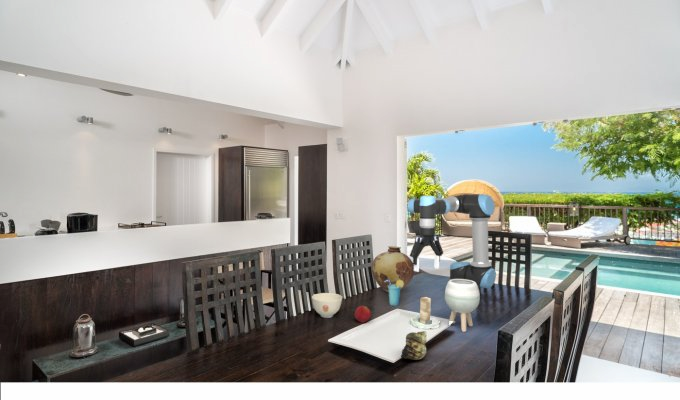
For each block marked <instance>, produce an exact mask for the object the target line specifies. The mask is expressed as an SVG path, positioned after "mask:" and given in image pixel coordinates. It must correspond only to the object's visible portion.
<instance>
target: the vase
mask: <svg viewBox="0 0 680 400" xmlns="http://www.w3.org/2000/svg"><path fill="white" fill-rule="evenodd" d="M387 247H388V249H387V251H384V252H382V253H379V254H378V255H376V256H375V258H373V261H372V262H371V274H372V276H373V278H374V281H375V282H376V283H377V285H378V286H379V287H380V288H381V290H383V291H385V292H386V293H389V290H388V285H389V281H387V282H384V281H386V280H390V283H391V285H396V281H397V280H399V279H400V280H402V281H403V283H404V285H403V287H402V288H401V289H400V291H401V290H404V289H405V288H406V287H407V286H408V285H409V284H410V282H412V280H413V277H414V273H415V271H414V264H413V260H412V259H411V257H410V256H408V255H407V254H406V253H404V252H401V248H402V247H401V246H396V245H395V246H393V245H391V246H390V245H389V246H387Z"/></svg>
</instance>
